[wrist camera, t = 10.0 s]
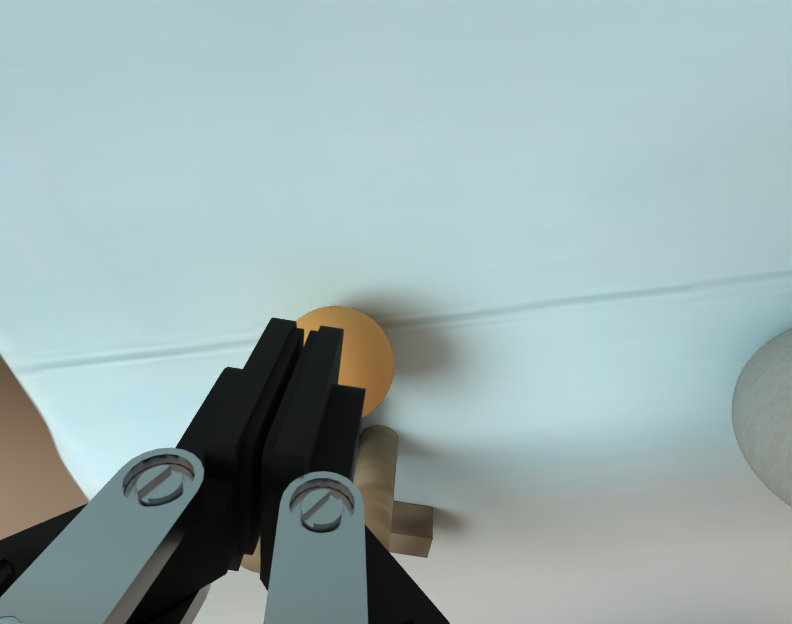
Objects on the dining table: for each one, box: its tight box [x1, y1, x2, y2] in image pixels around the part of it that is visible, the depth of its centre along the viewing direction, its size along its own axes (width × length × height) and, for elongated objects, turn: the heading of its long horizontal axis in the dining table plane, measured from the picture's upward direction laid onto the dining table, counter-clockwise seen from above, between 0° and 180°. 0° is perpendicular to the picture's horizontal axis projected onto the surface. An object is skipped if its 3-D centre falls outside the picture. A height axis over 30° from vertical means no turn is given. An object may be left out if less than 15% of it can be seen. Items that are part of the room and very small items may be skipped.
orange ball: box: [296, 306, 394, 418], centre depth 25 cm, size 6×6×6 cm
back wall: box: [389, 501, 433, 558], centre depth 34 cm, size 14×2×2 cm, turn 81°
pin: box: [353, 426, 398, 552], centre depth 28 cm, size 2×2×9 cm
